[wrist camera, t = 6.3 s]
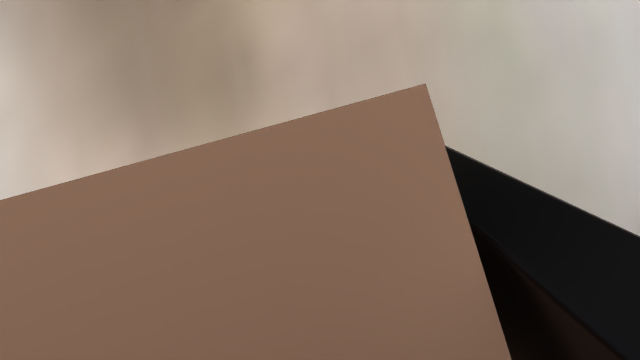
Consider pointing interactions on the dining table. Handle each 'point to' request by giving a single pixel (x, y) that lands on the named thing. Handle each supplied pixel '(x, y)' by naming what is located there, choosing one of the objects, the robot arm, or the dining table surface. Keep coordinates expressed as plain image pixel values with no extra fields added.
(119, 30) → the dining table surface
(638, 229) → the dining table surface
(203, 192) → the terracotta block
